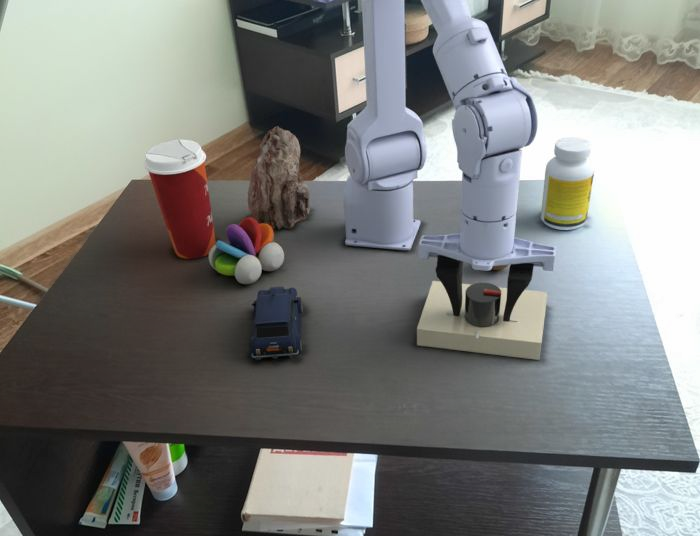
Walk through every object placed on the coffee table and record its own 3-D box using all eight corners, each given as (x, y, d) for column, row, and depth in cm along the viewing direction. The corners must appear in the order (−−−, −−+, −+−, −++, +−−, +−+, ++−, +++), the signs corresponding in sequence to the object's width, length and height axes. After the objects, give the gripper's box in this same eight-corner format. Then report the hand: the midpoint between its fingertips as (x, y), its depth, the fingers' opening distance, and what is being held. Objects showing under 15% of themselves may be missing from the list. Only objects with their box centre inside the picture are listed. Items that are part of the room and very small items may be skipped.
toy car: (302, 303, 94) (297, 266, 90) (301, 363, 84) (296, 325, 81) (256, 306, 94) (250, 270, 90) (250, 367, 84) (242, 329, 81)
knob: (462, 325, 84) (463, 298, 81) (467, 305, 87) (468, 278, 84) (497, 329, 83) (499, 302, 80) (501, 308, 86) (503, 281, 83)
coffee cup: (235, 244, 106) (216, 147, 96) (190, 269, 102) (165, 169, 92) (199, 227, 111) (178, 132, 101) (155, 250, 106) (128, 153, 97)
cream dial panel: (415, 348, 85) (415, 330, 83) (432, 296, 93) (432, 279, 91) (538, 363, 82) (541, 345, 80) (545, 308, 89) (547, 290, 88)
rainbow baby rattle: (295, 264, 101) (289, 218, 96) (240, 296, 96) (231, 248, 91) (256, 244, 106) (248, 199, 101) (202, 273, 101) (191, 227, 96)
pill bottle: (587, 233, 102) (599, 155, 95) (539, 231, 103) (548, 153, 96) (585, 210, 107) (597, 134, 100) (540, 208, 108) (548, 133, 101)
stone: (300, 116, 105) (232, 124, 105) (296, 132, 99) (224, 141, 99) (315, 211, 113) (252, 217, 114) (312, 231, 107) (245, 238, 107)
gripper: (412, 222, 75) (413, 327, 83) (558, 233, 71) (544, 342, 80) (425, 190, 80) (425, 292, 88) (562, 199, 76) (548, 305, 85)
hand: (482, 313), depth 84 cm, fingers open, 5 cm apart
